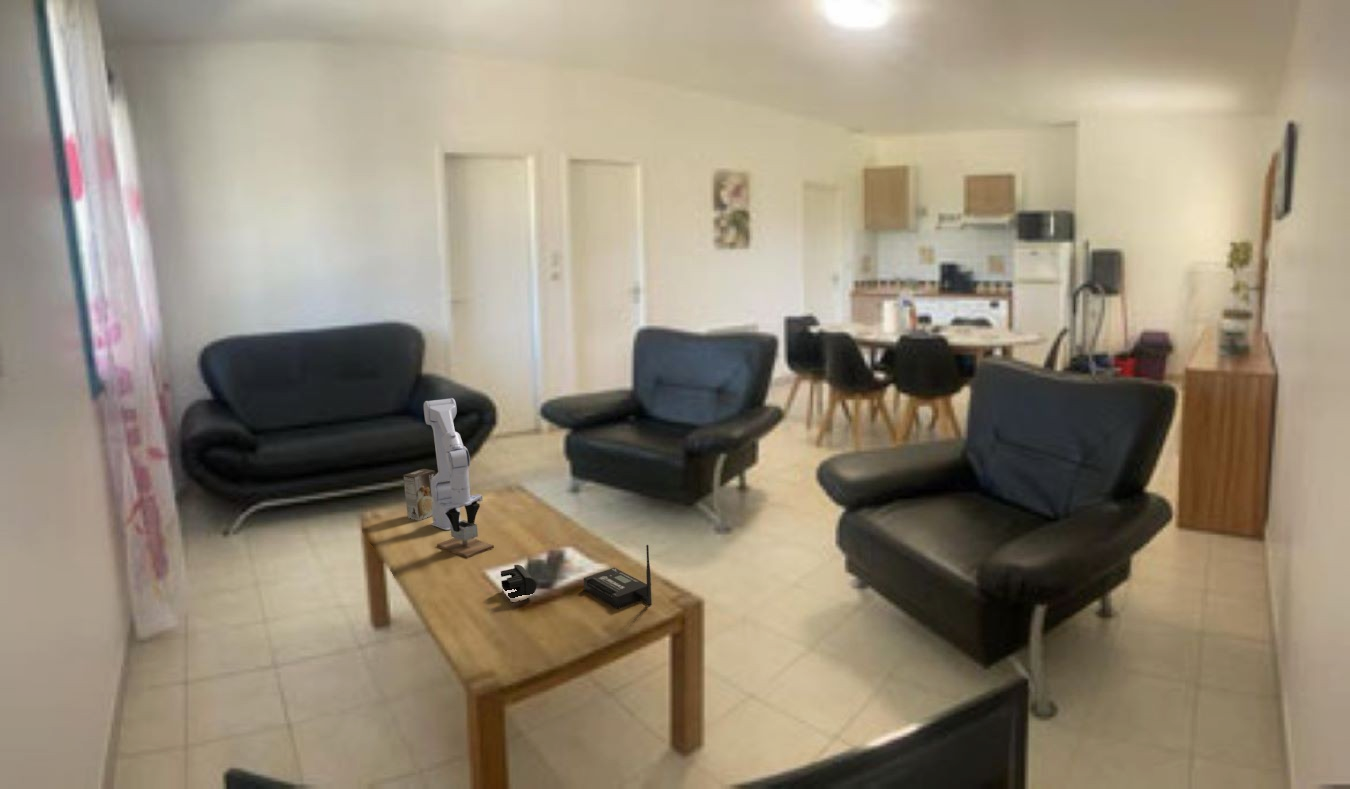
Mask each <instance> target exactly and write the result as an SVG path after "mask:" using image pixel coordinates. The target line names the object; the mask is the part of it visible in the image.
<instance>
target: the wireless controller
mask: <svg viewBox="0 0 1350 789" xmlns="http://www.w3.org/2000/svg"><path fill="white" fill-rule="evenodd" d="M645 547H646V549H645V550H646V572H645V573H646V577H645V578H646V583H645V582H643V581H641V580H639V579H637V578H635V577H634V576H632V575H629V574H628V573H626V572H624V571H622V570H620V569H618V568H616V567H612V568H610V569H607V570H604V571H600V572H598V573H595V574H592V575H589V576H586V577H583V590H584V591H585V592H586V593H587V592H588V594H591V595H592V596H594V597H597V598H598V599H600V600H601V601H603V602H605V603H607V604H608V605H610V606H612V607H613V608H615V609H616V610H620V609H623V608H625V607H627V606H630V605H632V604H636V603H638V602H641V601H642V602H644V603H646V604H647V605H648V606H652V603H653V602H652V598H653V597H652V580H651V579H652V578H651V577H652V576H651V574H652V573H651V566H650V565H651V564H650V553H649V552H650V551H649V547H650V546H649V544H646V546H645Z"/></svg>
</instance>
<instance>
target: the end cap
mask: <svg viewBox="0 0 1350 789" xmlns="http://www.w3.org/2000/svg"><path fill="white" fill-rule="evenodd" d="M507 576H510V577H507ZM500 577H501V578H503V577H507V578H506V579H504V580H501V588H502V590H503V589H504V590H505V591H507V590H512V589H514V590H515V589H516V590H517V591H515V592H511V593H508V596H509V597H510V598H515V597H518V596H522V595H530V594H533V593H534V594H535V592H536V590H537V582H536V580H535V578H534V577H533V576H531V574H530V573H529V572H528V571H527V570H526V569H525V567H523V566H522V565H520V564H514V565H513V568H510V569H505V570H501V571H500ZM534 594H533V595H534Z"/></svg>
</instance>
